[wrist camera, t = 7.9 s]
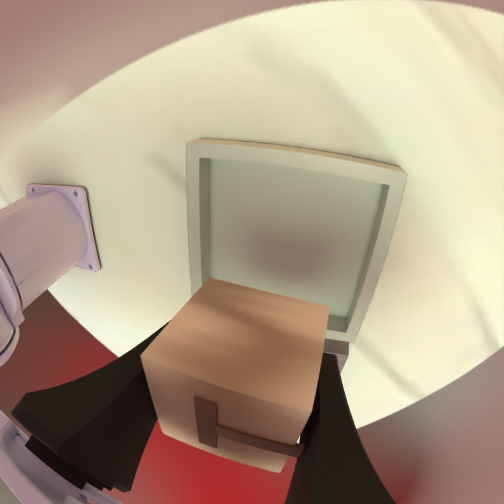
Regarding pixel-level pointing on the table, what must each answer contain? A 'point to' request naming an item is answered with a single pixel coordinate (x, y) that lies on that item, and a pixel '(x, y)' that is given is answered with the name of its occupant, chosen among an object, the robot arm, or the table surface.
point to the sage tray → (292, 223)
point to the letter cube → (238, 372)
